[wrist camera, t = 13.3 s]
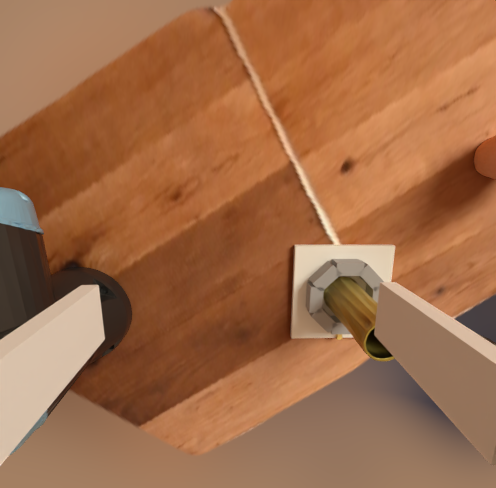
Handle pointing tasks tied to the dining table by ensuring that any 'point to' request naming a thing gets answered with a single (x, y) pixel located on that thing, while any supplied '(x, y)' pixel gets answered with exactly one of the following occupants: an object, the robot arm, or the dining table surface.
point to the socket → (323, 274)
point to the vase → (356, 315)
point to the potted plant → (486, 158)
